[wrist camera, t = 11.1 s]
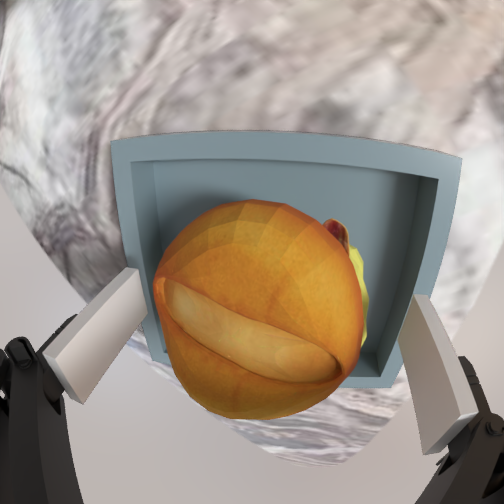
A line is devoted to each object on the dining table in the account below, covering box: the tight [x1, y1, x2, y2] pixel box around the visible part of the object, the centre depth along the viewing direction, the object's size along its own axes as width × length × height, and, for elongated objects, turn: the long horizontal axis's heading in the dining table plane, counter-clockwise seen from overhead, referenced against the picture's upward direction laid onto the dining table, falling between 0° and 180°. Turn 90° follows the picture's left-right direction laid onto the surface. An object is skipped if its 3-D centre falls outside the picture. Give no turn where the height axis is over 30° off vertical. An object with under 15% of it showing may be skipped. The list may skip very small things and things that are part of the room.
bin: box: [111, 130, 462, 388], centre depth 16 cm, size 15×17×3 cm
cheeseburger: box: [153, 199, 369, 420], centre depth 14 cm, size 10×11×10 cm
